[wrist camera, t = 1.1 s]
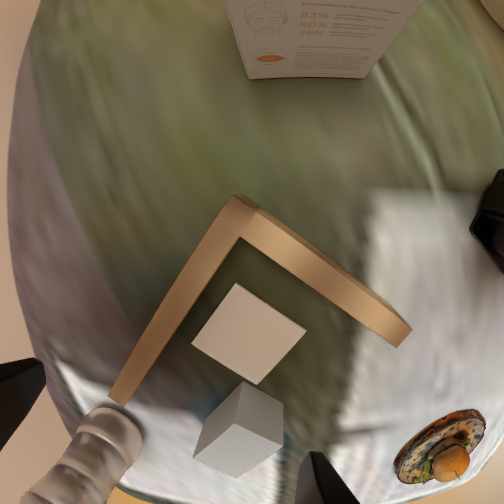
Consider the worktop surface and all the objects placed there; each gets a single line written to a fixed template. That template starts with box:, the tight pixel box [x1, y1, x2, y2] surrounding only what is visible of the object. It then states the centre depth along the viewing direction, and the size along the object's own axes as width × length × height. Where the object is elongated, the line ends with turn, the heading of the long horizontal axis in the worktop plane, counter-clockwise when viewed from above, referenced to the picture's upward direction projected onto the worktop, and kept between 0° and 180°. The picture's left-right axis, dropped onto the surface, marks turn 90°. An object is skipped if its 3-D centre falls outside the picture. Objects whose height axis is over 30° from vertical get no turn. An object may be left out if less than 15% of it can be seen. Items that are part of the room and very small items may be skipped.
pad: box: [191, 283, 307, 385], centre depth 20 cm, size 6×6×1 cm
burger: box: [393, 409, 486, 484], centre depth 18 cm, size 12×12×8 cm
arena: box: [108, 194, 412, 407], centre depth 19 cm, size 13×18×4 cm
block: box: [193, 381, 283, 478], centre depth 20 cm, size 4×6×5 cm, turn 145°
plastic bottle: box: [20, 407, 143, 504], centre depth 14 cm, size 6×7×20 cm
